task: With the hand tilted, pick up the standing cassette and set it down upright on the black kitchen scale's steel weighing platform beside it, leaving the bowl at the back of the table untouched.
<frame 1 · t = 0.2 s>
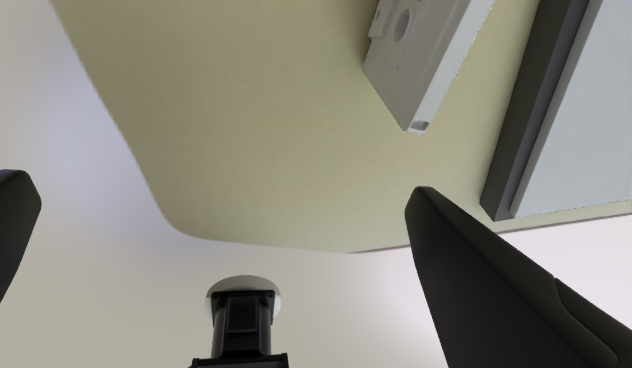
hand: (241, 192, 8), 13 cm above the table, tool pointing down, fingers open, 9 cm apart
scale: (622, 97, 23), on the table
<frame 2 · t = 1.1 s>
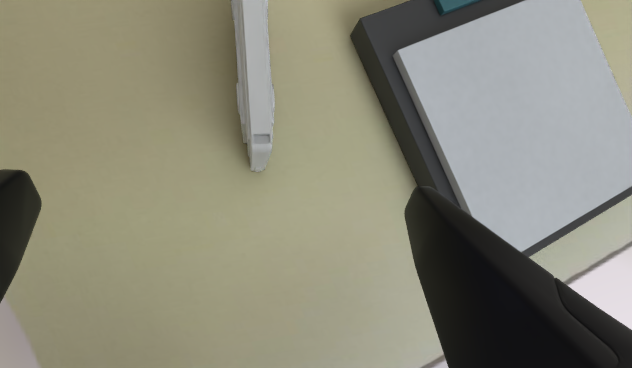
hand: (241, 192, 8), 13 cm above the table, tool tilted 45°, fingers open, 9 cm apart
cassette: (251, 82, 22), on the table
scale: (503, 126, 25), on the table
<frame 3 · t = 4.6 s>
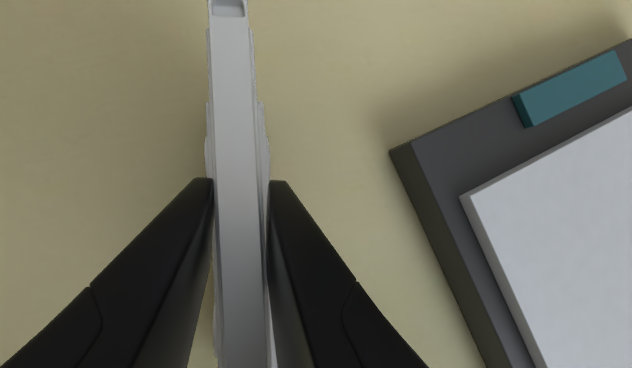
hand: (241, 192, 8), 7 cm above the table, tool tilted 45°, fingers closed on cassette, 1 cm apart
cassette: (243, 232, 15), on the table, touching gripper
scale: (600, 266, 18), on the table
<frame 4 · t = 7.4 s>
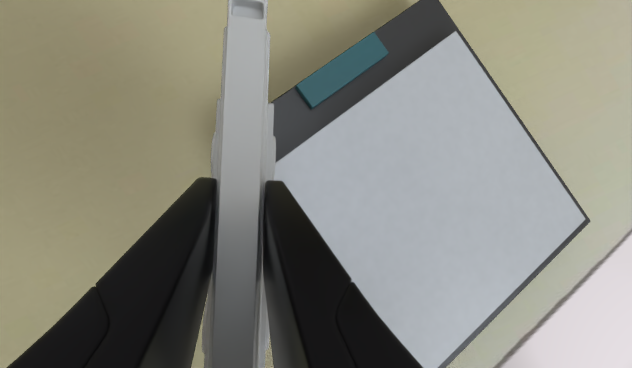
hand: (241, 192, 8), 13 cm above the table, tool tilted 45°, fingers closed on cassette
cassette: (243, 230, 15), point 6 cm above the table, touching gripper
scale: (416, 198, 23), on the table
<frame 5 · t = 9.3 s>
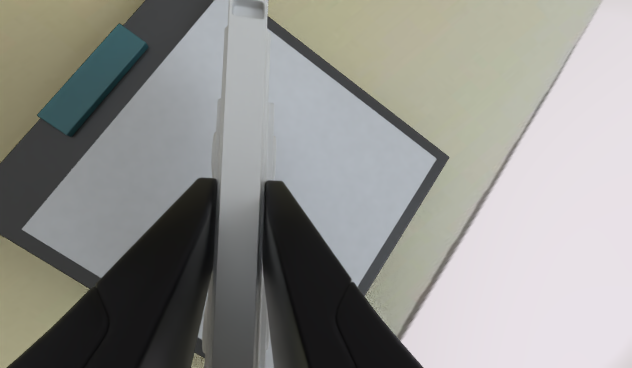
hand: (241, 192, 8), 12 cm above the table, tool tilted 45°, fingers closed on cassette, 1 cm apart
cassette: (243, 230, 15), point 5 cm above the table, touching gripper
scale: (254, 192, 20), on the table
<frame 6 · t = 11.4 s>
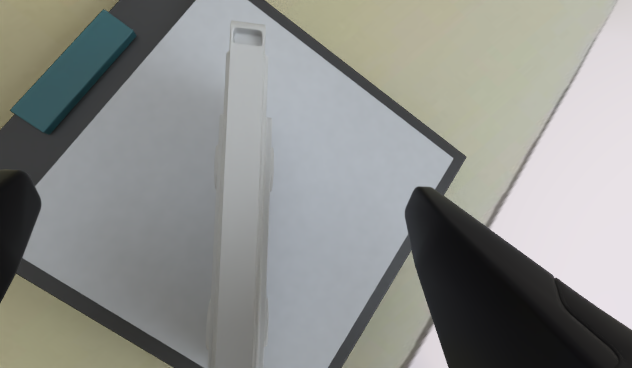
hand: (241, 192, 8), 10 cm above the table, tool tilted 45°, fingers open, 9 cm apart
cassette: (243, 234, 15), point 3 cm above the table, touching scale
scale: (253, 195, 18), on the table
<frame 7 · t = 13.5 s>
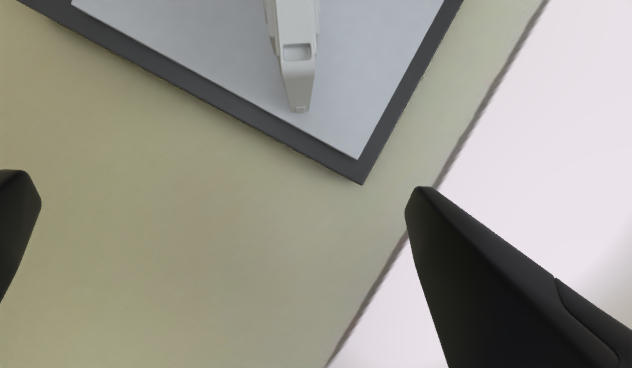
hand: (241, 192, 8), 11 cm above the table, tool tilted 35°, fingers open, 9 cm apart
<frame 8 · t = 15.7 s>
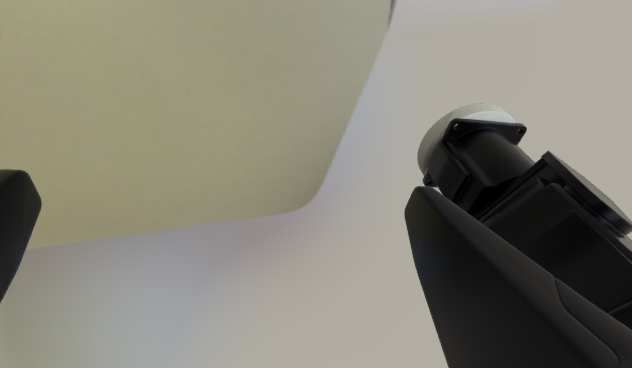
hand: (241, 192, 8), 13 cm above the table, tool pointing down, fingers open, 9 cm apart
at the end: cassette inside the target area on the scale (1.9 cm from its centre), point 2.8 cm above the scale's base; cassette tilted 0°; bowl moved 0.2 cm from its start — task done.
